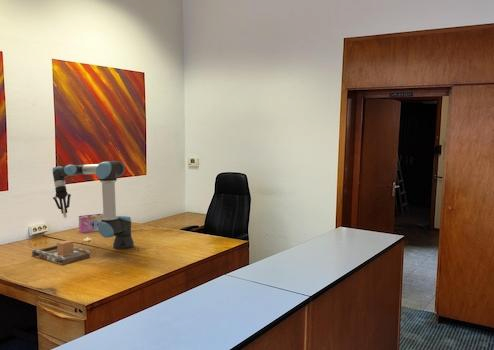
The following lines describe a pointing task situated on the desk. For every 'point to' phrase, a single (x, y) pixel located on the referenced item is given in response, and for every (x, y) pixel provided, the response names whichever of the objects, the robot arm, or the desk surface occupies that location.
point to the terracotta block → (65, 247)
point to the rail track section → (53, 255)
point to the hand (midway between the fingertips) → (65, 217)
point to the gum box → (89, 223)
